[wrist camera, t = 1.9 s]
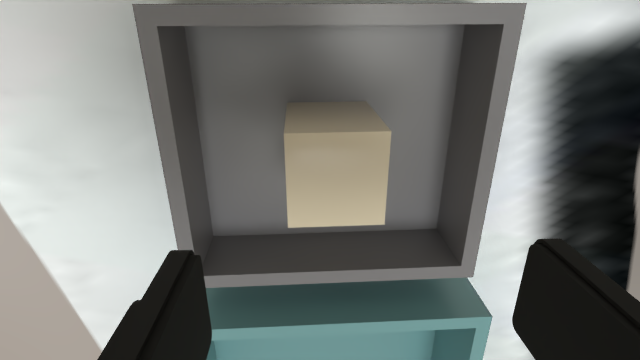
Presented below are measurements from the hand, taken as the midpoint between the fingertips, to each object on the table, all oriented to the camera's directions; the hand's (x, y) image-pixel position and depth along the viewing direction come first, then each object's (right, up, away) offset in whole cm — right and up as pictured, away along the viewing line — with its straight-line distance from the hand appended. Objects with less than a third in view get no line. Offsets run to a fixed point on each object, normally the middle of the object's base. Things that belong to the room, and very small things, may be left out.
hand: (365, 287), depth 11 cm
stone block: (-1, +5, +11) cm, 12 cm away
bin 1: (-1, +6, +12) cm, 13 cm away
